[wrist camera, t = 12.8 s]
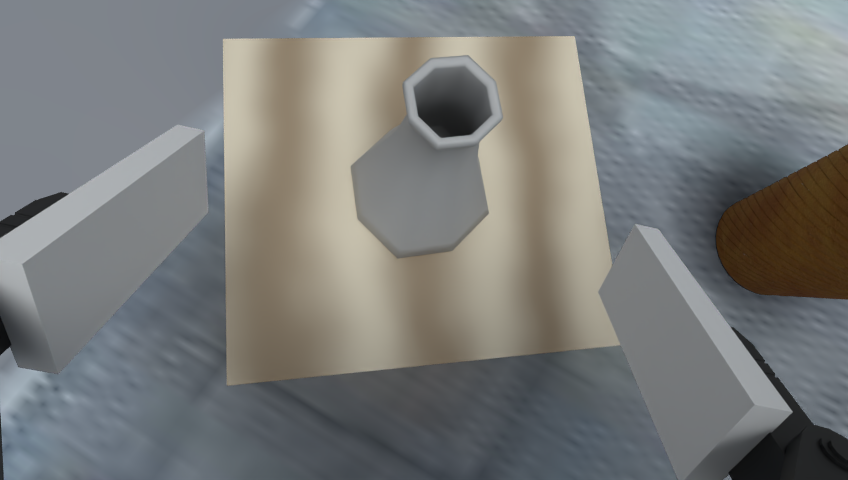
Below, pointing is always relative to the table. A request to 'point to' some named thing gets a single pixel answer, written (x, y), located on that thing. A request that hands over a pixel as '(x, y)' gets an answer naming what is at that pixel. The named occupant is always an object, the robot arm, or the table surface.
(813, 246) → the disposable coffee cup
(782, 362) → the table surface
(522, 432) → the table surface
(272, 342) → the birch board
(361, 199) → the flask
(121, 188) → the robot arm
